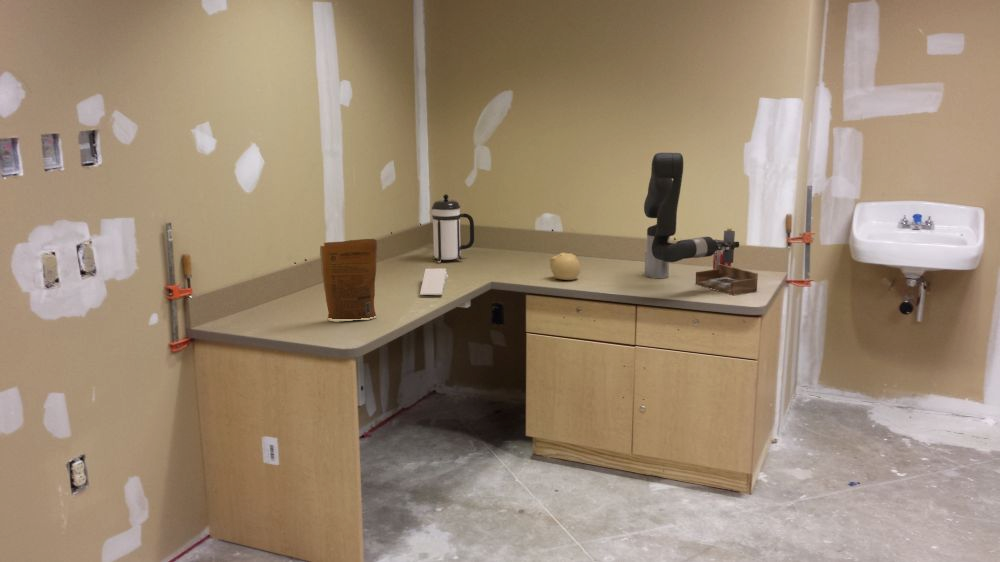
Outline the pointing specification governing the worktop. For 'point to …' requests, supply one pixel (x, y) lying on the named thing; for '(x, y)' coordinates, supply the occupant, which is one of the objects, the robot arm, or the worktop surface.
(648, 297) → the worktop surface
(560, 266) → the tan round lump
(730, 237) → the tall grey cylinder
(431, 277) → the white boxy piece
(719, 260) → the soda can
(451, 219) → the coffee press
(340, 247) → the pancake mix bag
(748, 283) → the bay
